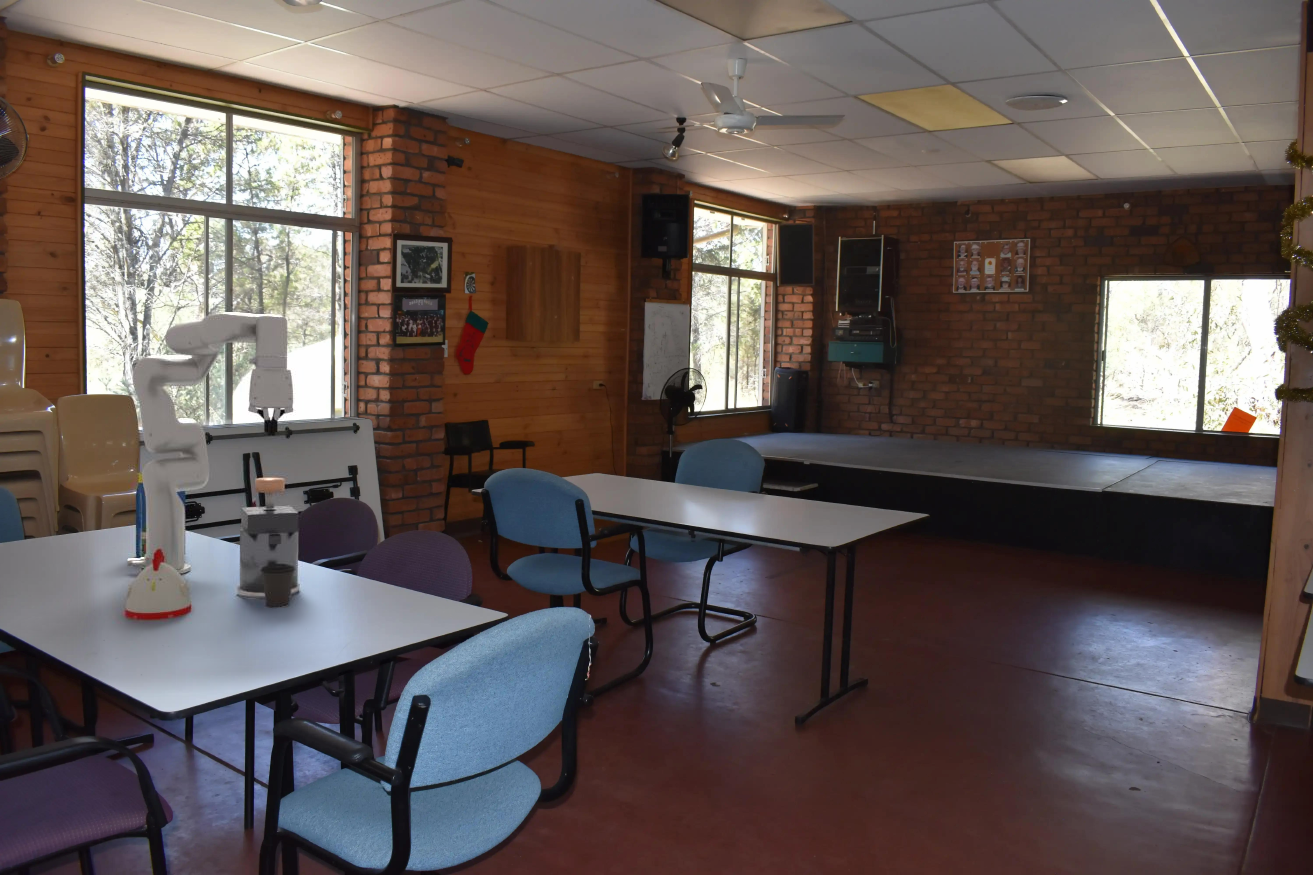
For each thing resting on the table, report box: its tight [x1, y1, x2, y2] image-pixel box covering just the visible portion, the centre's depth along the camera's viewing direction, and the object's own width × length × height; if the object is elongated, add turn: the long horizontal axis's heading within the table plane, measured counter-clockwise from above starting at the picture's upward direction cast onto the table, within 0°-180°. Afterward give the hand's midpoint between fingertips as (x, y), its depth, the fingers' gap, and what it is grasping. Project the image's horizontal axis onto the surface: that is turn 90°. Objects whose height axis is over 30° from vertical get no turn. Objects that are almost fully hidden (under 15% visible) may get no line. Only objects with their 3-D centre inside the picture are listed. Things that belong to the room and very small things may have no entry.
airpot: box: [236, 505, 301, 600], centre depth 247 cm, size 15×18×22 cm
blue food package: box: [135, 473, 186, 559], centre depth 286 cm, size 6×12×25 cm, turn 133°
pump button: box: [254, 477, 286, 509], centre depth 247 cm, size 7×7×8 cm
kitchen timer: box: [124, 549, 192, 621], centre depth 226 cm, size 14×14×15 cm
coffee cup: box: [260, 564, 295, 609], centre depth 237 cm, size 8×8×10 cm
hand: (270, 435), depth 246 cm, fingers closed
